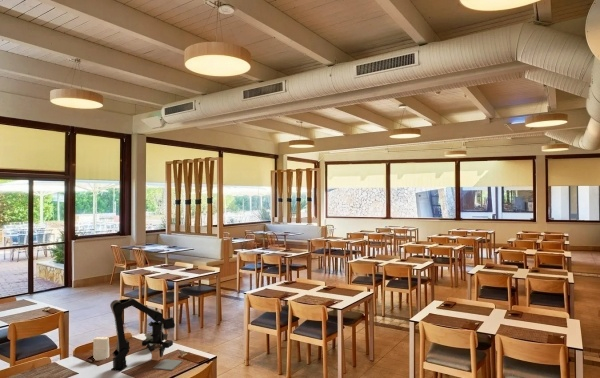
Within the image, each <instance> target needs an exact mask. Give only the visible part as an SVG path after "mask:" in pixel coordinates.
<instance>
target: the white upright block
mask: <svg viewBox="0 0 600 378" xmlns="http://www.w3.org/2000/svg"><path fill="white" fill-rule="evenodd" d="M92 344H93V348H92V349H93V350H92V353H93V355H92V356H93V358H94V359H95V360H94V359H93V360H94V361H104V360H107V359H108V358H109V357H110V339H109V337H106V336H105V337H102V336H101V337H94V338H93V343H92ZM106 358H107V359H106Z"/></svg>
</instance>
